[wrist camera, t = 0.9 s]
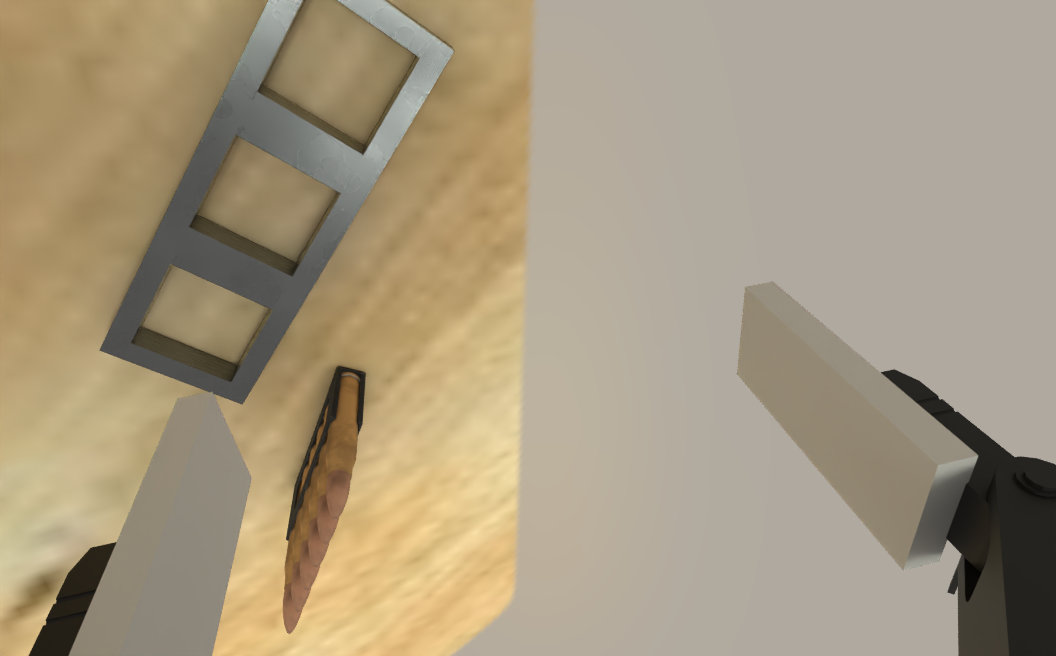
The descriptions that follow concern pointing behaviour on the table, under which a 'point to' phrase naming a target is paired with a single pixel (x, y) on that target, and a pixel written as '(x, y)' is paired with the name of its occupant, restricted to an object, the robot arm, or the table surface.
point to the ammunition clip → (322, 488)
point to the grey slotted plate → (295, 143)
